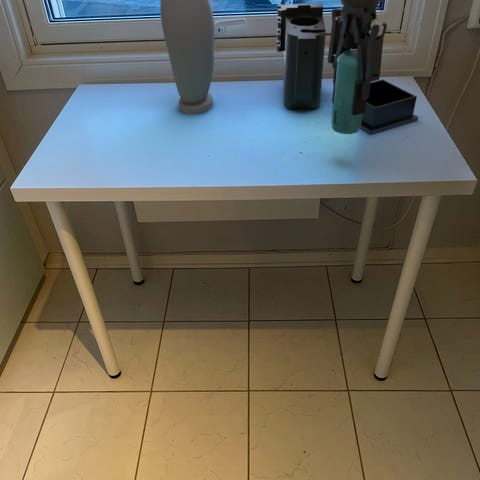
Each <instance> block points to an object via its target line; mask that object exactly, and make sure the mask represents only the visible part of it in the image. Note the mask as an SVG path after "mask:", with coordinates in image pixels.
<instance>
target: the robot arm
mask: <svg viewBox="0 0 480 480" xmlns="http://www.w3.org/2000/svg"><path fill="white" fill-rule="evenodd" d="M381 2H382V0H339V3H340V5H342V7H338V8H334V9H331V29H330V36H329V45H328V53H327V63H328V64H331V65H332V69H333V74H332V75H333V77H332V84H333V85H332V86H333V87H332V88H333V89H332V97H331V98H332V99H331V103H332V105H334V102H333V101H334V94H335V82H336V79H335V78H336V73H337V59H338V57H339V56H340V55H341V54H342V53H343V52H344V51H347V50H352V49H348V48H345V47H344V42H345V36H346V34H351V35H353V36H354V42H355V44H356V45H357V49H356V50H357V55H358V69H359V80H357V81H356V85H355V94H354V102H353V111H352V115H354V116H355V115H358V114H362V113H365V109H366V101H367V98H368V97H369V90H370V84H371V82H375V81H378V80H380V77H381V68H382V67H381V66H382V57H383V50H384V49H383V48H384V47H383V46H384V38H385V35H386V32H387V29H388V24H387V23H386V22H382V23H381V22H380V21H379V20H377V18H378V17H377V16H378V15H377V7H378V6H379V5H380V4H381ZM365 36H366V38H362V39H361V38H360V37H365ZM365 74H366V75H365Z"/></svg>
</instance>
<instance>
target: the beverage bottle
mask: <svg viewBox="0 0 480 480" xmlns="http://www.w3.org/2000/svg"><path fill="white" fill-rule="evenodd" d="M366 36H367V35H366ZM366 36H365V37H360V38H361V39H362V38H366ZM344 47H345V48H348V49H351V50H347V51H344V52H343V53H342V54H341V55H340V56H339V57H338V59H337V73H336V78H335V79H336V82H335V94H334V101H333V102H334V104H332V111H331V115H332V116H331V129H332V130H333V131H334V132H336V133H337V134H341V135H353V134H357V133H358V132H359V131H360V130H361V129H360V128H361V122H362V120H363V117H362V115H363V113H362V114H358V115H355V116H354V115H352V111H353V102H354V94H355V85H356V81H357V80H359V69H358V55H357V45H356V44H355V42H354V36H353V35H351V34H346V36H345V42H344ZM365 75H366V74H365Z"/></svg>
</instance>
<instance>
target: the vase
mask: <svg viewBox="0 0 480 480" xmlns="http://www.w3.org/2000/svg"><path fill="white" fill-rule="evenodd" d="M159 7H160V8H159V9H160V11H159V12H160V20H161V21H160V22H161V28H162V33H163V38H164V41H165V42H164V43H165V46H166V50H167V53H168V57H169V61H170V67H171V71H172V74H173V78H174V82H175V87H176V90H177V93H178V95H179V97H180V98H179V99H178V109H179V111H180V112H182V113H183V114H187V115H197V114H198V115H199V114H203V113H205V112H207V111H209V110H210V109H211V108H212V107H213V105H214V101H213V100H214V99H213V96H212V94H211V93H209V91H210V88H211V84H212V78H213V75H214V69H215V68H214V67H215V20H214V14H213V9H212V6H211V3H210V0H160V6H159Z"/></svg>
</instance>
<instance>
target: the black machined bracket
mask: <svg viewBox="0 0 480 480" xmlns="http://www.w3.org/2000/svg"><path fill="white" fill-rule="evenodd" d="M276 26H277V28H276V52H277V53H282V52H283V79H282V80H283V81H282V82H283V83H282V85H283V86H282V94H283V105H284V107H285V108H286V109H288V110H315V109H317V108H319V106H321V98H322V97H321V95H322V88H323V87H322V83H323V74H324V73H323V71H324V59H325V47H326V37H327V36H326V35H327V32H326V29H327V28H326V24H325V20H324V4H322V3H293V4H291V3H290V4H281V3H280V4H277V19H276Z"/></svg>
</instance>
